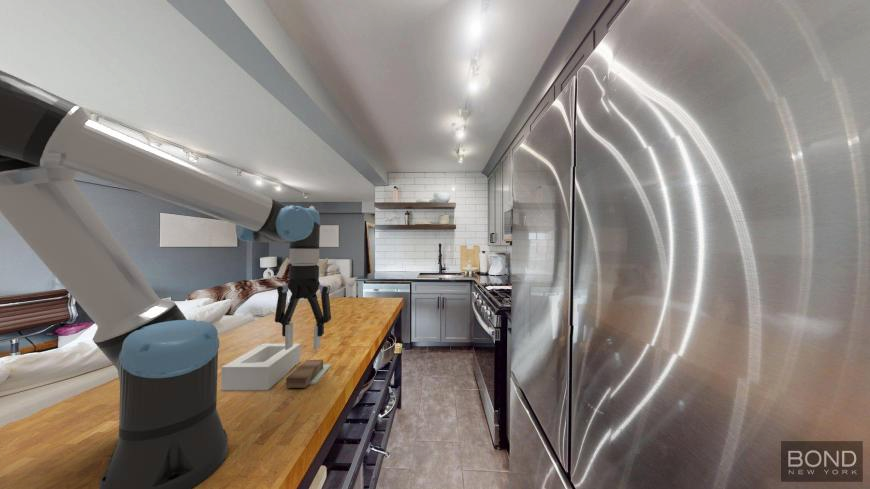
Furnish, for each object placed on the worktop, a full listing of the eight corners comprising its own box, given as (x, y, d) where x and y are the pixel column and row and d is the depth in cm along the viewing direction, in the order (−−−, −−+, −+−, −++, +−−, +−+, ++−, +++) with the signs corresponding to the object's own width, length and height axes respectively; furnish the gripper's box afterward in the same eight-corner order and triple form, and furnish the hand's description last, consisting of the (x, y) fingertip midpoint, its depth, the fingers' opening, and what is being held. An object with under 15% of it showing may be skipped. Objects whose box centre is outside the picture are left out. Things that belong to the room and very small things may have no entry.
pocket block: (268, 390, 72) (268, 366, 72) (221, 390, 71) (221, 367, 71) (300, 362, 90) (300, 343, 90) (262, 362, 89) (263, 343, 89)
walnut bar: (305, 387, 72) (305, 377, 72) (286, 387, 72) (286, 377, 72) (323, 368, 84) (323, 359, 84) (306, 367, 84) (306, 359, 84)
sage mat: (315, 384, 75) (315, 382, 75) (285, 384, 75) (285, 382, 75) (331, 365, 87) (331, 364, 87) (305, 365, 87) (305, 364, 87)
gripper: (344, 264, 80) (343, 343, 80) (275, 263, 80) (274, 343, 79) (336, 265, 73) (334, 352, 72) (259, 264, 72) (257, 353, 72)
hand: (302, 347), depth 76 cm, fingers open, 7 cm apart
